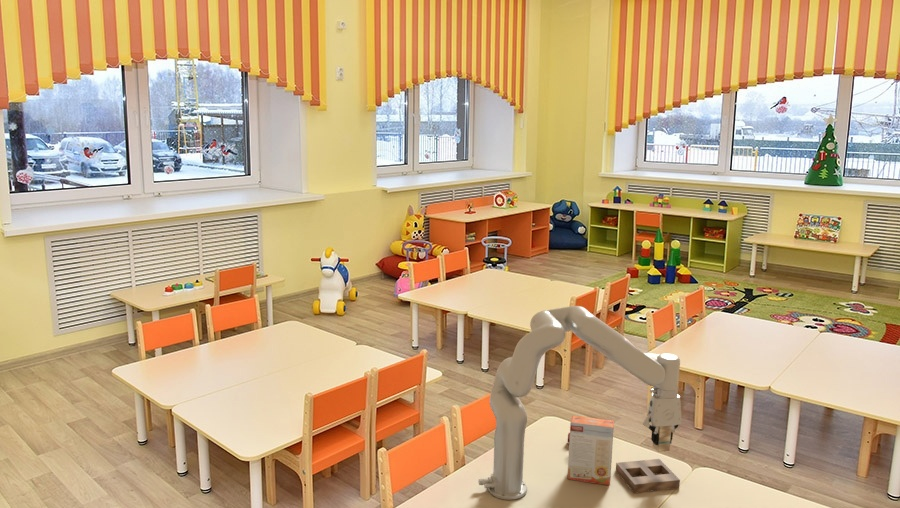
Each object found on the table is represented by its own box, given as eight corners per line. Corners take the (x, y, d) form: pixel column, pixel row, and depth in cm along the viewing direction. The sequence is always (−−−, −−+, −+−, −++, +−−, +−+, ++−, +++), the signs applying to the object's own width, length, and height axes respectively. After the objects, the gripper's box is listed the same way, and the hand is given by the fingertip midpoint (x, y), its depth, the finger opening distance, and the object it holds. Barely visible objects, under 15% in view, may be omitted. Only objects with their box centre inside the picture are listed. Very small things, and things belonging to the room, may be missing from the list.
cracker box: (610, 477, 238) (614, 419, 233) (609, 486, 232) (614, 427, 228) (568, 470, 242) (572, 414, 237) (566, 479, 236) (570, 421, 231)
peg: (658, 452, 233) (660, 424, 231) (652, 446, 237) (654, 418, 235) (669, 450, 234) (672, 422, 232) (663, 444, 238) (665, 417, 236)
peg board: (634, 492, 229) (634, 484, 228) (615, 470, 242) (616, 462, 241) (679, 488, 232) (679, 479, 231) (658, 466, 245) (659, 458, 245)
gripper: (647, 398, 226) (643, 450, 230) (695, 394, 229) (690, 445, 233) (636, 388, 233) (633, 439, 237) (683, 384, 236) (678, 435, 240)
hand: (661, 442), depth 235 cm, fingers closed on peg, 4 cm apart
